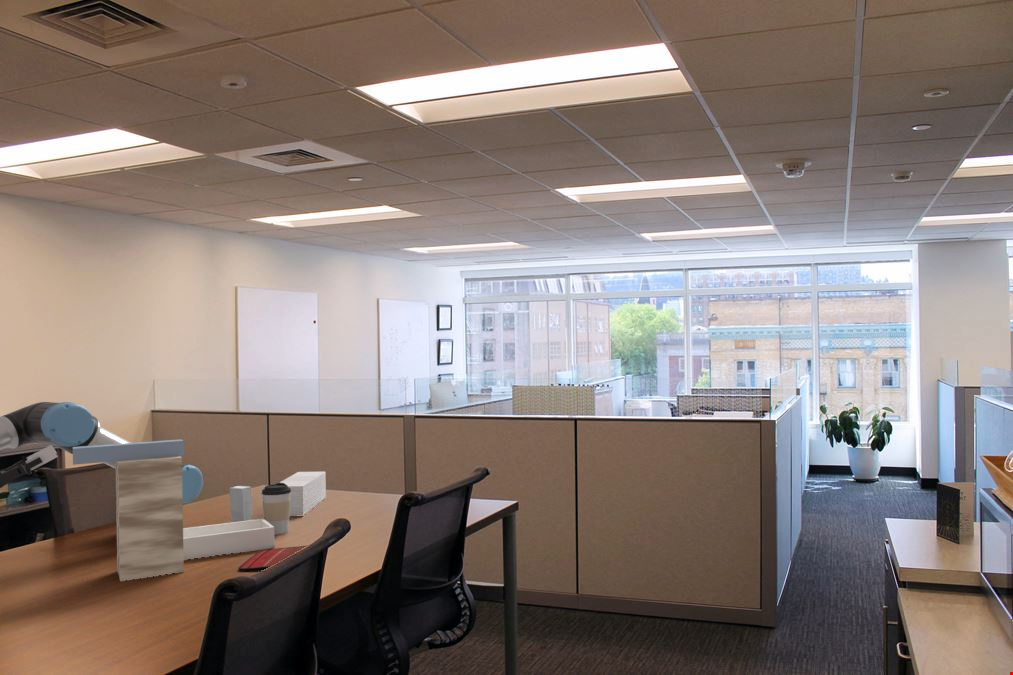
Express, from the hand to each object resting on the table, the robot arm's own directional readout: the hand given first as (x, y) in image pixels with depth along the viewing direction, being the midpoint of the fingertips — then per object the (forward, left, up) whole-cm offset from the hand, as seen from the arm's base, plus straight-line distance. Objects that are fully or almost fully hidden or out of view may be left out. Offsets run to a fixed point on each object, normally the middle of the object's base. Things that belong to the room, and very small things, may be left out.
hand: (54, 450), depth 208 cm
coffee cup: (-18, +61, -33) cm, 72 cm away
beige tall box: (+9, +21, -33) cm, 40 cm away
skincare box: (-38, +54, -33) cm, 74 cm away
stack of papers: (-53, +78, -33) cm, 100 cm away
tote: (-5, +39, -33) cm, 51 cm away
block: (+9, +17, -3) cm, 19 cm away
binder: (+16, +53, -34) cm, 65 cm away
